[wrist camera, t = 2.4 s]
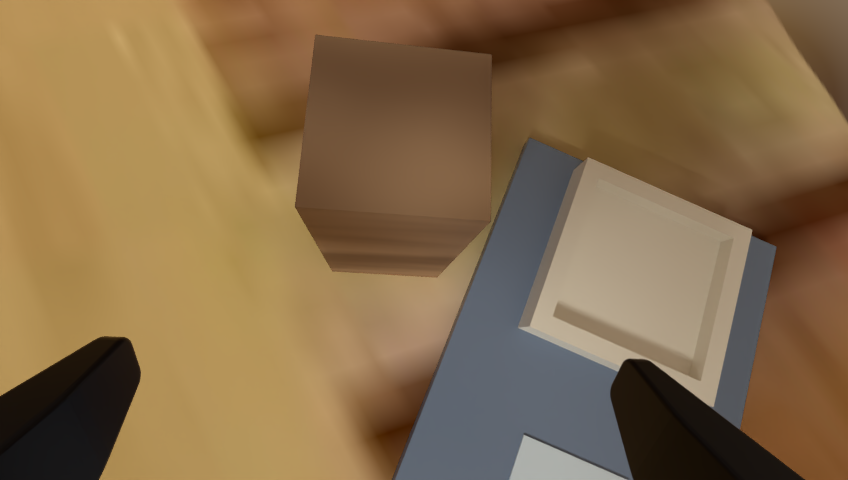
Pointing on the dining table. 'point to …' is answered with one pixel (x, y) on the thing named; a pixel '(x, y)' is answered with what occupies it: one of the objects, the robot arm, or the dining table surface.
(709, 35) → the dining table surface
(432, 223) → the pillar
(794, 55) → the dining table surface
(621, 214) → the board
